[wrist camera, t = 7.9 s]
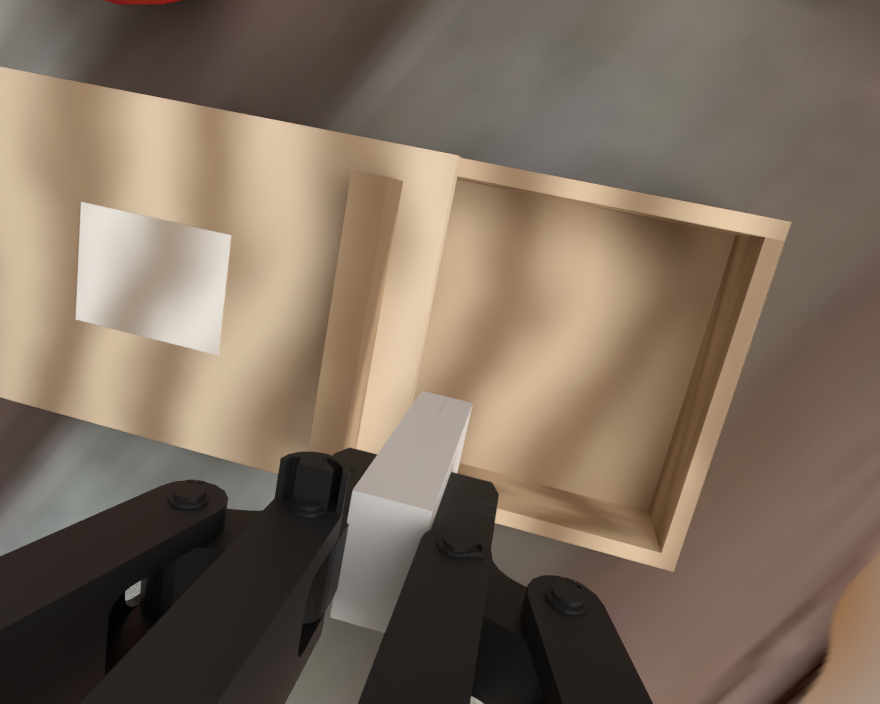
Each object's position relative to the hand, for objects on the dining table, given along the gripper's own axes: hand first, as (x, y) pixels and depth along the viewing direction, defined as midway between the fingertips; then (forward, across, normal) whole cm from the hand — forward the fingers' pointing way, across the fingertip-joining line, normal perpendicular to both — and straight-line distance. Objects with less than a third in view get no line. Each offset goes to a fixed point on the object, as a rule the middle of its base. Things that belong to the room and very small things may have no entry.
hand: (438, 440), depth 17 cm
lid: (+12, -15, 0) cm, 19 cm away
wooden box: (+17, 0, 0) cm, 17 cm away
